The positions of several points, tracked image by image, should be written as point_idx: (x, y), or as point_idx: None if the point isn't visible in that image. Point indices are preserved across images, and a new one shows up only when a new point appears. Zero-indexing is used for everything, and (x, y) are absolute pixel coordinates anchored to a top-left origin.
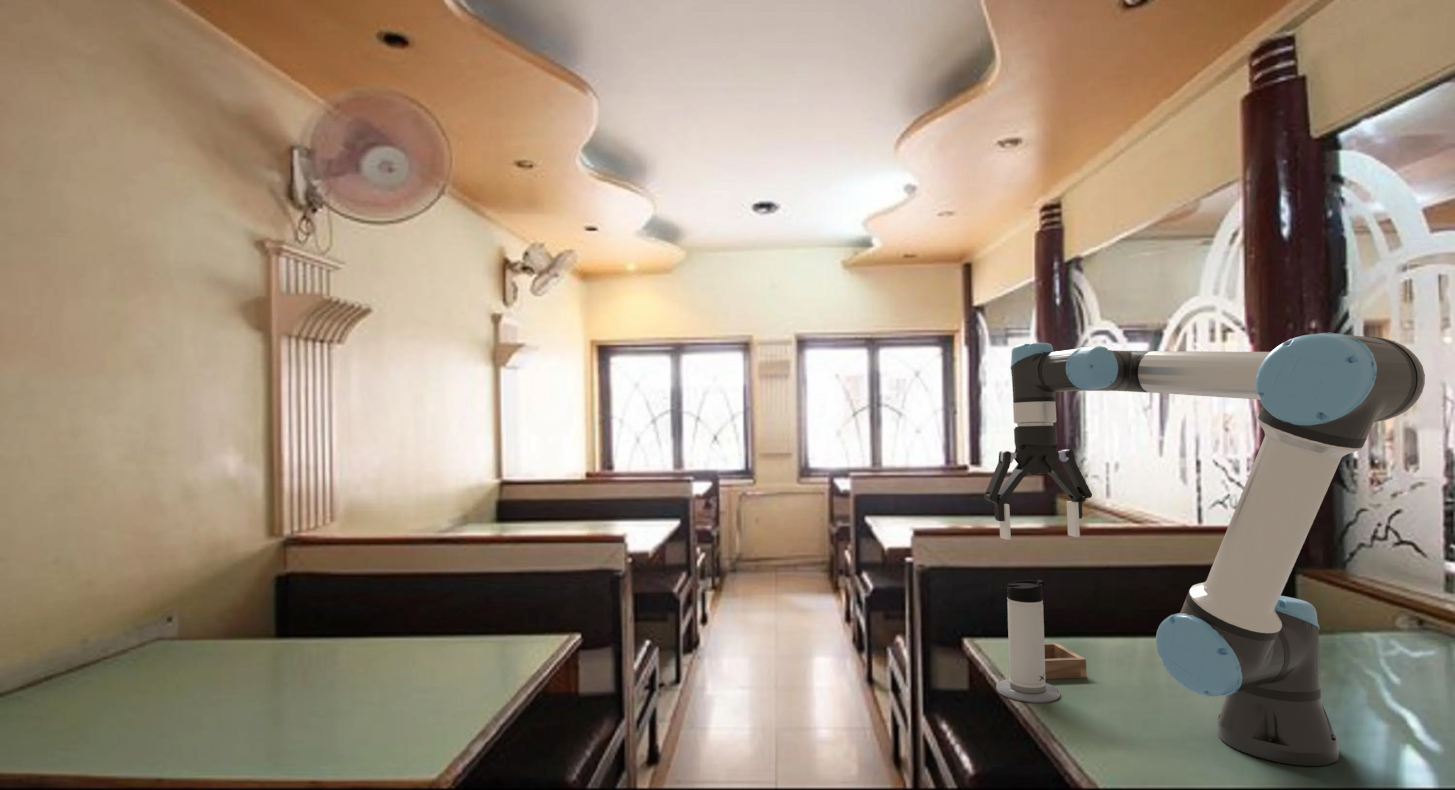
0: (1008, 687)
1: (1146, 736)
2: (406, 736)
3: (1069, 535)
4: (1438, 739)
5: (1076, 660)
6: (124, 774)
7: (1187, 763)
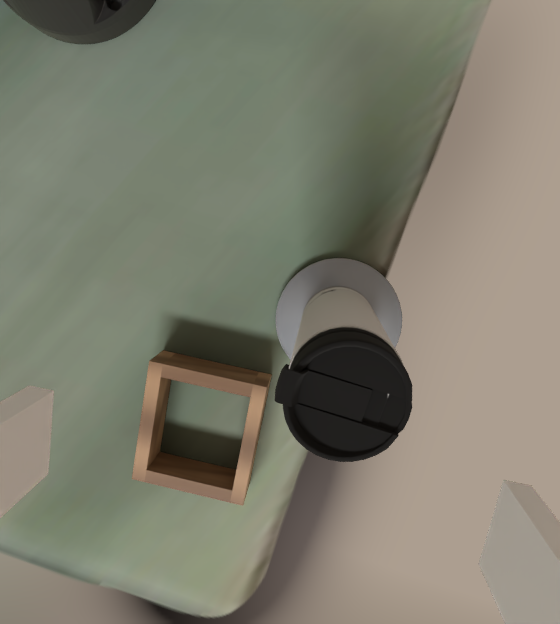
0: None
1: (280, 49)
2: None
3: (48, 458)
4: None
5: (171, 365)
6: None
7: None
